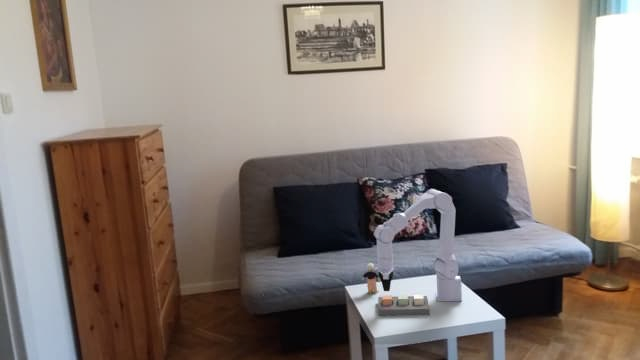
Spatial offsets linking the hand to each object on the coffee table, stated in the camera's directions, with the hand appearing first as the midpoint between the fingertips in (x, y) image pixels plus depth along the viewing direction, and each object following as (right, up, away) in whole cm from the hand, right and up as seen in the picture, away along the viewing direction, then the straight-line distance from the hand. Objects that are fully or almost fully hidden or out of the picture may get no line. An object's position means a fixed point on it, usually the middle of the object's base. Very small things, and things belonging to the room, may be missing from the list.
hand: (386, 290), depth 195 cm
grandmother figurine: (-4, -5, +19) cm, 20 cm away
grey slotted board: (+6, -7, +1) cm, 10 cm away
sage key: (+6, -5, 0) cm, 8 cm away
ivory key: (+12, -5, -1) cm, 13 cm away
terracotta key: (0, -5, +1) cm, 6 cm away
